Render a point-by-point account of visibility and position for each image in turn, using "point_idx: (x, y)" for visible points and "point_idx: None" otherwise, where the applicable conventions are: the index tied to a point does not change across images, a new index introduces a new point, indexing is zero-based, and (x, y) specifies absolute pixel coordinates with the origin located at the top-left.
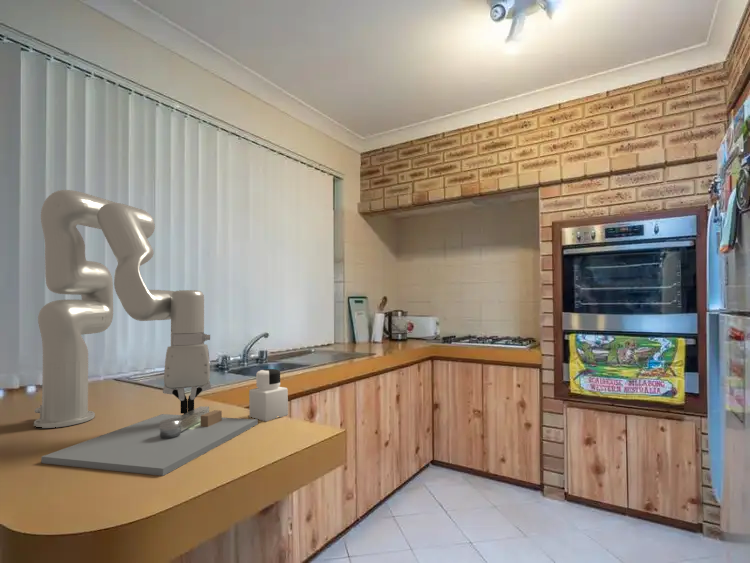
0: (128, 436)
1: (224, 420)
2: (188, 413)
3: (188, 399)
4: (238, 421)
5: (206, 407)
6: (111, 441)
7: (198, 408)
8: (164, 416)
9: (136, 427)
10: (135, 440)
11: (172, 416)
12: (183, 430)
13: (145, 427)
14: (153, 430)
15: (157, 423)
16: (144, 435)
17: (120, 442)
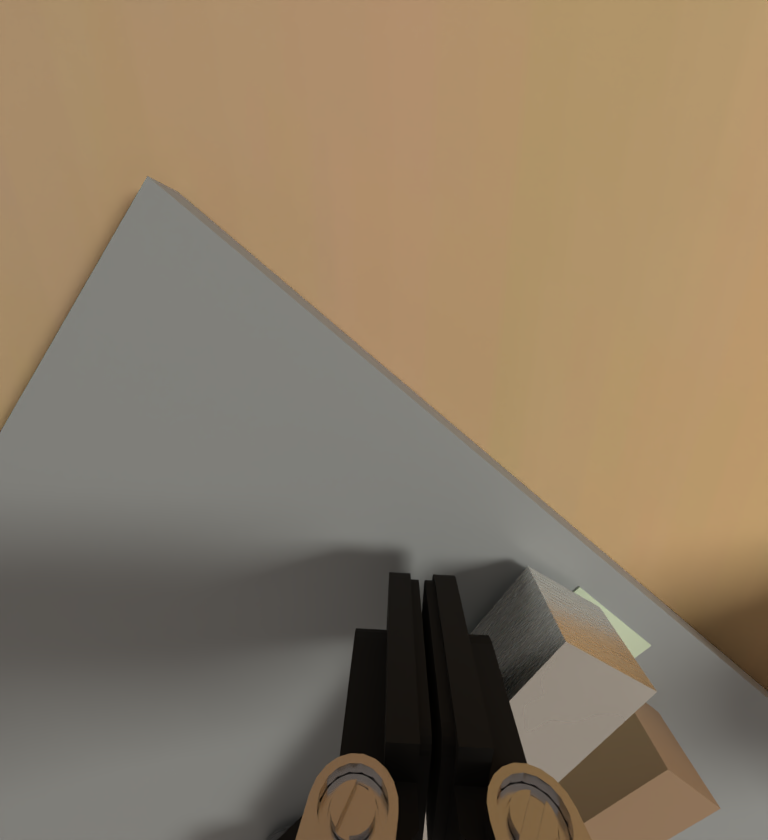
0: (69, 751)
1: (677, 717)
2: (425, 828)
3: (446, 794)
4: (753, 782)
5: (619, 717)
6: (5, 792)
7: (534, 711)
8: (195, 319)
9: (44, 585)
10: (137, 829)
11: (277, 365)
12: None
13: (116, 614)
14: (194, 708)
15: (182, 550)
16: (163, 775)
17: (65, 826)
